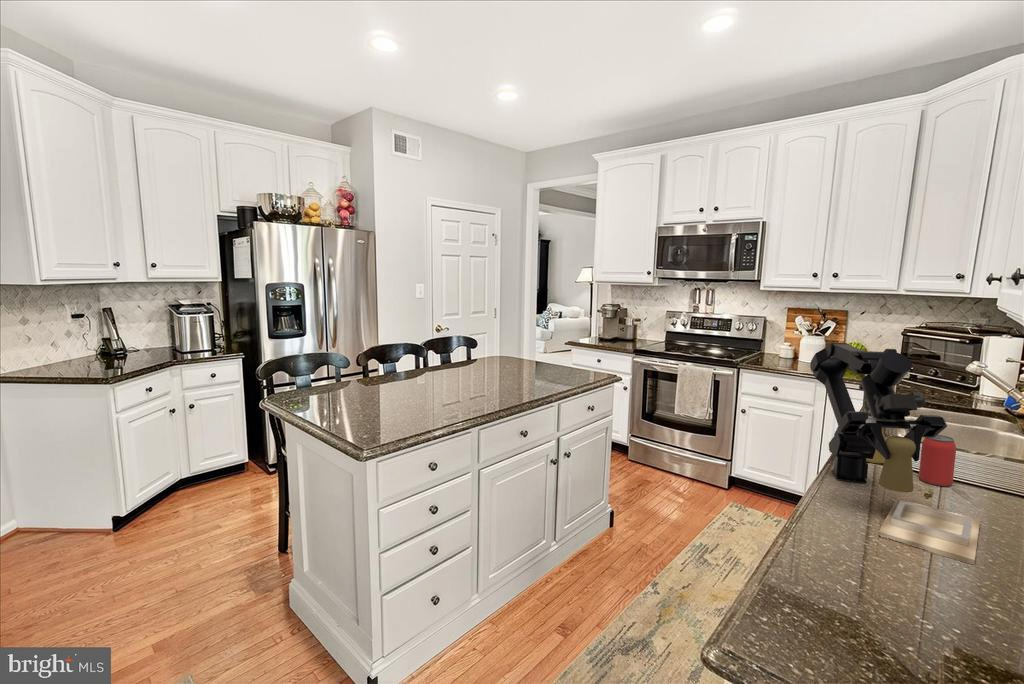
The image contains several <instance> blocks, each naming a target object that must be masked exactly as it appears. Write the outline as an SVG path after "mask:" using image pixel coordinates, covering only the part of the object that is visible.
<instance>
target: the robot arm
mask: <svg viewBox="0 0 1024 684" xmlns="http://www.w3.org/2000/svg"><path fill="white" fill-rule="evenodd" d="M809 363H810V366H809V367H810V372H812V374H813V376H814V378H815V379H816V381H818V382H819V383H821V384H823V386H824V388H825V392H826V394H827V397H828V400H829V402H830V406H831V408H832V411H833V414H834V417H835V420H836V423H837V427H836V430H835V432H834V433H833V437H832V438H831V439H830V441H829V442H828V450H829V453H831V454H832V455H833V456H834V462H833V469H831V472H832V474H833V475H834V476H833V477H835V479H836V480H838V481H846V482H850V483H851V482H854V483H859V484H867V482H868V481H867V479H868V473H869V471H868V470H869V463H868V462H867V461H866V458H867V459H873V457H874V454H875V451H876V450H877V451H878V452H879V453H880V454H881V455H882V456H883V457H884V458H885V459H887V460H888V459H889V458H890V455H889V451H888V448H887V445H886V443H885V440H884V437H883V435H882V428H890V429H901V430H902V429H903V430H904V431H905V435H903V437H904V438H908V439H910V440H912V441H913V442H914V443H915V445H916V450H915V452H914V454H912V461H914V462H918V461H919V460H920V456H921V446H922V439H923V438H925V437H927V438H932V437H936V436H937V435H940V433H941V432H943V431H944V430H945V429H946V428H947V427H948V425H947V422H946V419H945V418H944V417H943V416H940V415H935V414H934V415H933V414H920V415H919V416H918V417H917V418H916V419H915V420H912V419H906V418H908V417H910V415H911V411H917V410H918V409H921V408H924V407H926V405H927V403H926V398H925V396H924V394H923V392H922V391H921V392H918V391H912V392H911V393H908V394H905V393H896V390H895V386H897V385H899V383H901V382H902V380H903V379H904V378H905V377H906V375H908V373H909V372H910V371H911V370H912V368H913V362H912V360H911V359H909V358H908V356H906V355H904V354H902V353H900V352H898V351H897V348H885V349H884V350H883V351H868V350H863V349H861V348H858V347H856V346H854V345H850V344H849V343H847V342H830V343H827V344H826V346H825V347H824V348H822V349H821V350H819V351H818V352H816V353H814V355H813V357H812V359H811V361H810V362H809ZM848 369H849V370H850V371H851V372H852V373H854V375H864V377H863V378H861V380H860V384H859V386H858V390H860V391H862V390H863V395H864V394H865V397H866V400H867V403H868V404H867V405H866V406H865V407H866V410H870V413H871V416H872V417H869V416H868V414H867V413H866V412H862V411H857V410H856V409H855V406H854V404H853V402H852V398H851V396H850V393H849V390H848V389H847V385H846V383H845V379H844V377H845V374H846V372H847V371H848ZM865 374H868V375H865ZM893 386H894V388H893Z"/></svg>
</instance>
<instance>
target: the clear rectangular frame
mask: <svg viewBox="0 0 1024 684" xmlns="http://www.w3.org/2000/svg"><path fill="white" fill-rule="evenodd" d="M905 510H906V511H910V512H914V513H917V514H921V515H925V516H929V517H933V518H937V519H941V520H944V521H948V522H952V523H956V524H960V525H963V530H962V535H958V534H955V533H951V532H947V531H944V530H940V529H936V528H932V527H929V526H925V525H921V524H918V523H914V522H910V521H907V520H903V519H901V517H902V515H903V513H904V511H905ZM971 522H972V519H971V518H967V517H963V516H959V515H955V514H951V513H947V512H943V511H939V510H935V509H931V508H927V507H923V506H919V505H915V504H911V503H907V502H903V501H900V502H899V504H898V506H897V508H896V510H895V512H894V514H893V516H892V518H891V525H892V526H896V527H900V528H903V529H907V530H910V531H914V532H917V533H921V534H924V535H928V536H931V537H935V538H939V539H942V540H946V541H949V542H953V543H956V544H960V545H963V546H968V541H969V535H970V529H971Z"/></svg>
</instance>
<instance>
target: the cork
mask: <svg viewBox="0 0 1024 684" xmlns="http://www.w3.org/2000/svg"><path fill="white" fill-rule="evenodd" d="M885 443H886V445H887V448H888V451H889V455H890V458H889V459H888V460H887V459H885V461H884V463H882V464H883V465H882V468H881V472H880V475H879V479H878V481H877V482H878V485H879V486H881V487H882V488H884V489H887V490H889V491H893V492H898V493H913V492H914V478H913V477H914V476H913V475H914V474H913V458H912V454H914V452H915V450H916V445H915V443H914V442H913V441H912V440H910V439H908V438H904V436H897V435H896V436H895V435H894V436H891V435H890V437H888V438H887V439H886V441H885Z"/></svg>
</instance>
